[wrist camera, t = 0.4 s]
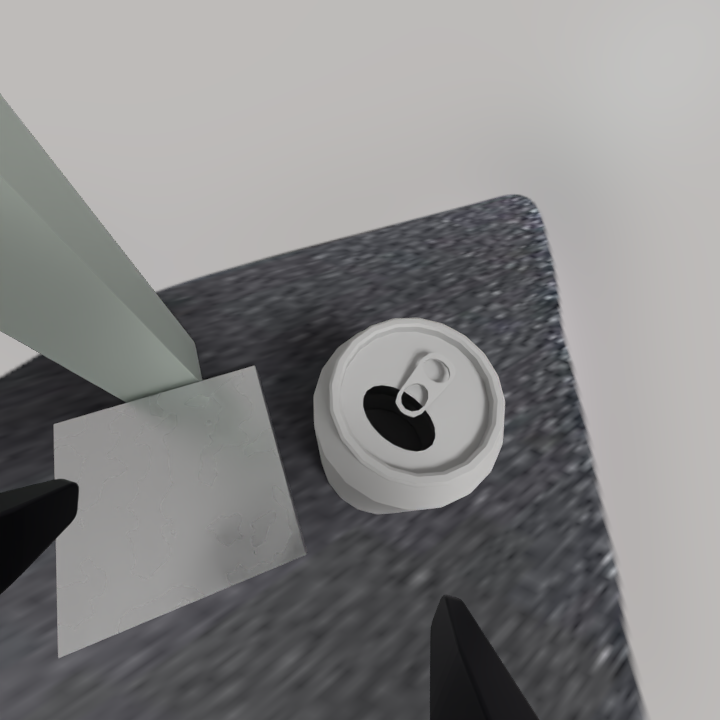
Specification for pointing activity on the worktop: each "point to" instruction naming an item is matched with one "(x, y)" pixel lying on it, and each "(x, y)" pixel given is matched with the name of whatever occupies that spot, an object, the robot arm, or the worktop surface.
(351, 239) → the worktop surface
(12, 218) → the press frame
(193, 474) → the plate
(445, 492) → the can
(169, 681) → the worktop surface
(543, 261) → the worktop surface
